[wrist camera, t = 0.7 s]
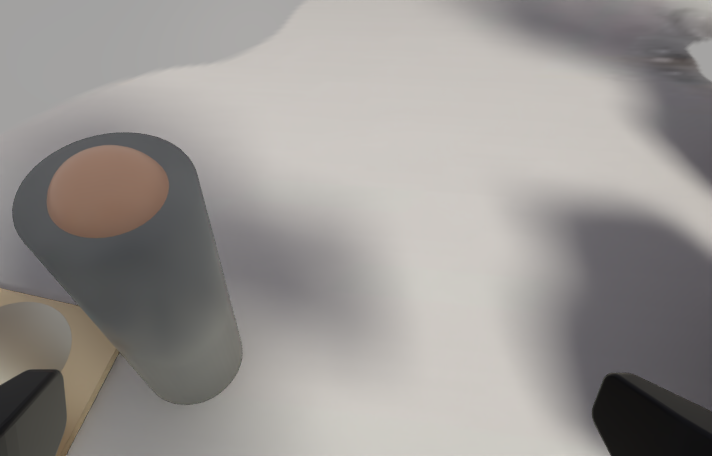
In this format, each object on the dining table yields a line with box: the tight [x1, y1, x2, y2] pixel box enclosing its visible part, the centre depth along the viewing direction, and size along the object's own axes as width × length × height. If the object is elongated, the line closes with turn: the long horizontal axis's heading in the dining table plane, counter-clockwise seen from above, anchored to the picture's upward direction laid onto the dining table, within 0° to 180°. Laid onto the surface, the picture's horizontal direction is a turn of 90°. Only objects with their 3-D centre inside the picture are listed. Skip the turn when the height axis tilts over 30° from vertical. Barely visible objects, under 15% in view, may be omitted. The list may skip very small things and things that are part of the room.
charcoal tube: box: [12, 133, 242, 405], centre depth 17 cm, size 5×5×14 cm
